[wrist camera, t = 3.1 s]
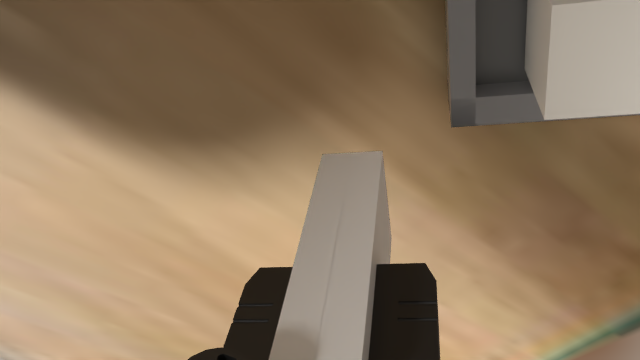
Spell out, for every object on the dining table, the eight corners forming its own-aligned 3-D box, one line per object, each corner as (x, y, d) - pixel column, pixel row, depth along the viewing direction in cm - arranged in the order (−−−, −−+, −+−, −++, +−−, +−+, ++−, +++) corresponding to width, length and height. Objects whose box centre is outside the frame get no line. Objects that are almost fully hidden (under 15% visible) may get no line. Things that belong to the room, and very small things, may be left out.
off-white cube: (524, 68, 24) (544, 120, 20) (528, -33, 22) (552, 5, 18) (630, 59, 23) (671, 111, 19) (646, -46, 21) (695, -10, 17)
